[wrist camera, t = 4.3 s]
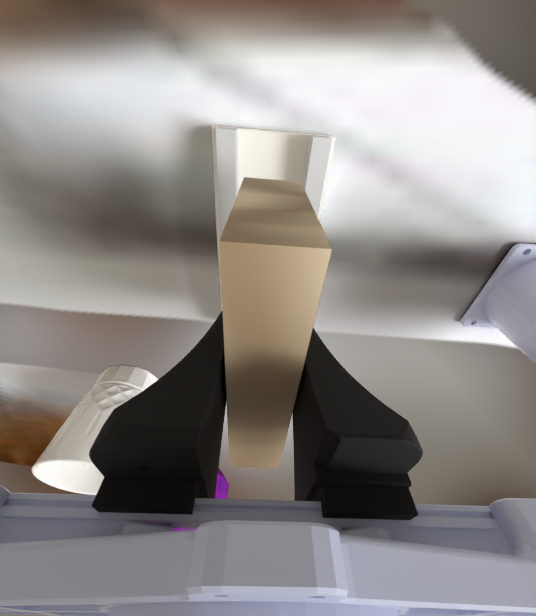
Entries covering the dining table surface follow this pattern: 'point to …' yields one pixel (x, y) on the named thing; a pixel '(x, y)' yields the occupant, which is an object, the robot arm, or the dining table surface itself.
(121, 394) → the white cup
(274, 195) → the tan rectangular block
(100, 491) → the robot arm
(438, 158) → the dining table surface
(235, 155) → the track board
